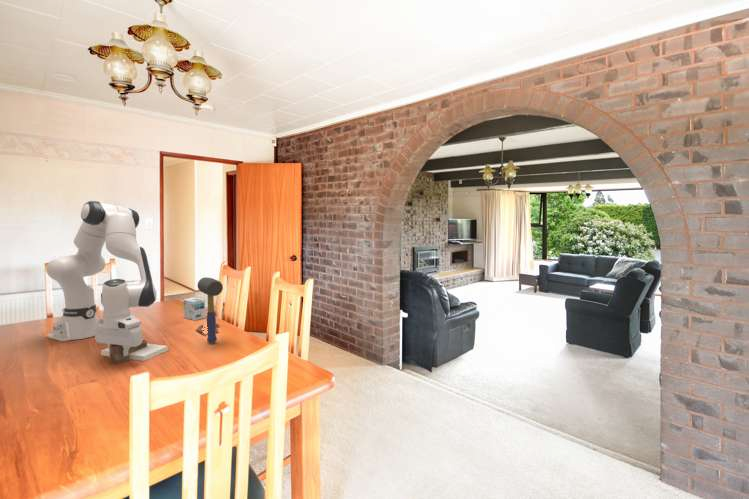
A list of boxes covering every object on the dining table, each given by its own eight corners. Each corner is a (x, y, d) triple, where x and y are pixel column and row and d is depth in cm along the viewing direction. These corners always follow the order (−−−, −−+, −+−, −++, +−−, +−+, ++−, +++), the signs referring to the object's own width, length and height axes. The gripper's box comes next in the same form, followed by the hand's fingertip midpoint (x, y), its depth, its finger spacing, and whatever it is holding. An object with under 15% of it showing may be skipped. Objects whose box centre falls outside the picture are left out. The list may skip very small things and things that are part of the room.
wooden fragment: (218, 335, 181) (218, 333, 181) (193, 338, 178) (193, 335, 178) (220, 321, 205) (220, 319, 205) (198, 323, 202) (198, 321, 202)
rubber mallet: (226, 344, 168) (224, 278, 165) (209, 348, 163) (206, 281, 160) (214, 338, 177) (212, 275, 174) (198, 341, 172) (195, 277, 169)
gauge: (110, 363, 147) (109, 346, 146) (141, 350, 160) (140, 334, 160) (118, 364, 146) (117, 347, 145) (149, 351, 159) (148, 335, 159)
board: (101, 355, 155) (101, 350, 155) (127, 345, 166) (127, 341, 166) (144, 361, 149) (143, 356, 149) (167, 350, 161) (167, 346, 160)
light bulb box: (206, 318, 210) (205, 299, 209) (194, 320, 205) (194, 301, 204) (194, 315, 216) (194, 296, 215) (183, 317, 210) (182, 299, 209)
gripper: (89, 321, 146) (91, 355, 148) (130, 325, 141) (132, 360, 142) (104, 316, 153) (106, 349, 154) (144, 320, 147) (146, 354, 149)
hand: (119, 354), depth 148 cm, fingers closed on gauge, 4 cm apart
